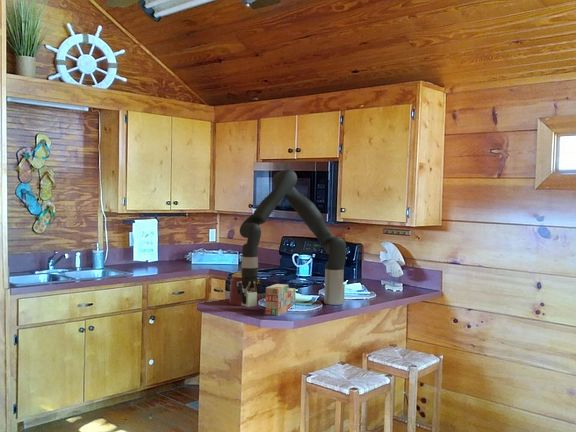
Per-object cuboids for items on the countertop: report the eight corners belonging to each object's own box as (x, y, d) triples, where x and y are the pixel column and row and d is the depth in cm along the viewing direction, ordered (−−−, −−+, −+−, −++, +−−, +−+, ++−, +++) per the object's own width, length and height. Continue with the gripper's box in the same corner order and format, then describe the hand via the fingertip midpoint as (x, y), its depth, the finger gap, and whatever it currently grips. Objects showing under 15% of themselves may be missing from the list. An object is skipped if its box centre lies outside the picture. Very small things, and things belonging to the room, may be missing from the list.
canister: (236, 301, 276) (237, 266, 275) (260, 303, 271) (261, 267, 271) (224, 305, 264) (225, 268, 263) (248, 308, 259) (249, 270, 259)
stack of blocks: (283, 306, 266) (284, 281, 266) (295, 307, 264) (296, 282, 263) (264, 314, 246) (265, 287, 246) (277, 316, 244) (278, 288, 243)
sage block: (250, 303, 257) (250, 291, 257) (256, 305, 253) (257, 292, 253) (241, 305, 254) (241, 292, 254) (248, 306, 250) (248, 293, 250)
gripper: (257, 264, 261) (256, 300, 261) (232, 266, 251) (231, 303, 252) (267, 266, 255) (266, 302, 255) (241, 268, 246) (241, 306, 246)
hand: (249, 303), depth 254 cm, fingers closed on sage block, 5 cm apart
